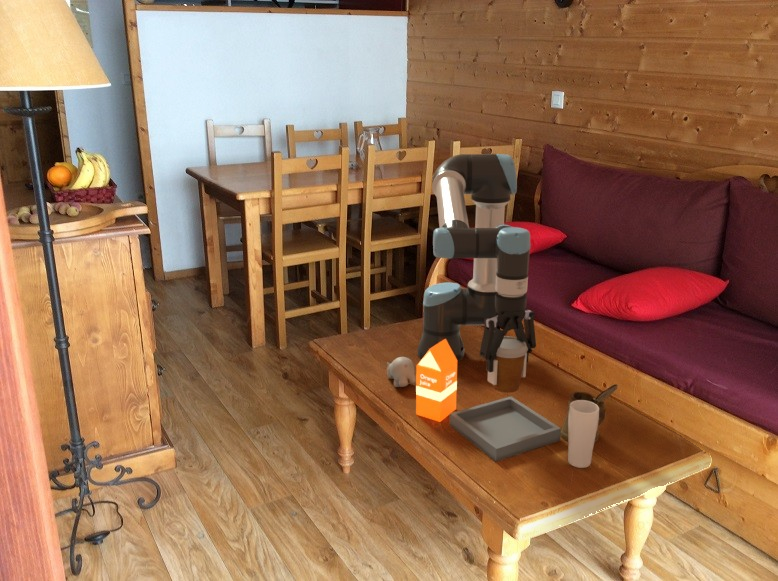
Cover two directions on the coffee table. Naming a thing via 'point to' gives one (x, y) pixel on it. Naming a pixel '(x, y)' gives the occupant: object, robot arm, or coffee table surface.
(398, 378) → the round bodied animal figurine
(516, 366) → the disposable coffee cup
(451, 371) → the orange juice
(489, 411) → the tray
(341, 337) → the coffee table surface
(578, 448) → the drinking glass
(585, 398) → the wooden mug
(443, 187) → the robot arm
